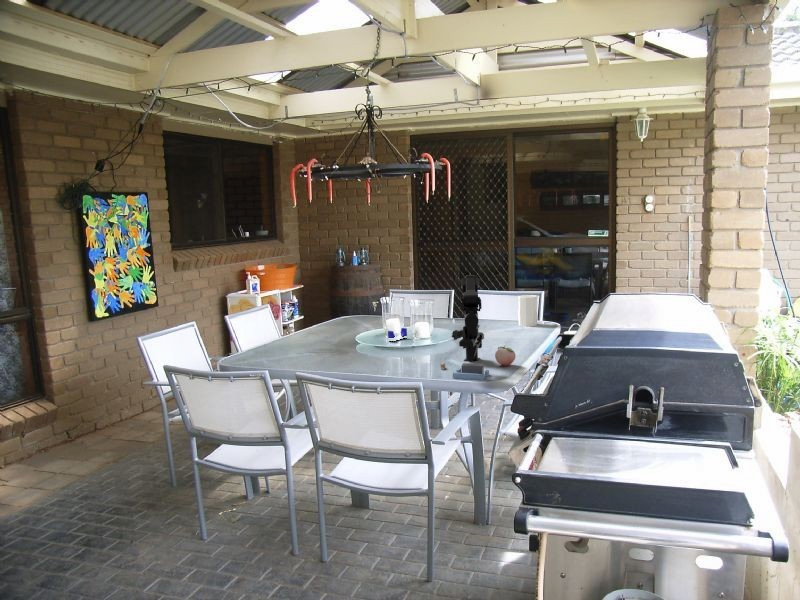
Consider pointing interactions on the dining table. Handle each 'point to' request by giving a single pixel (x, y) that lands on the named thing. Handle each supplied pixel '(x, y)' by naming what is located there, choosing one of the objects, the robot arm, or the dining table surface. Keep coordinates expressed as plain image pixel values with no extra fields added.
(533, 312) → the cup
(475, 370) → the tall grey block
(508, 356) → the decorative fruit
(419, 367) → the dining table surface
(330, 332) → the dining table surface
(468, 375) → the separate blue rectangular blocks
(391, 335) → the cable clip
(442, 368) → the tan wooden block
